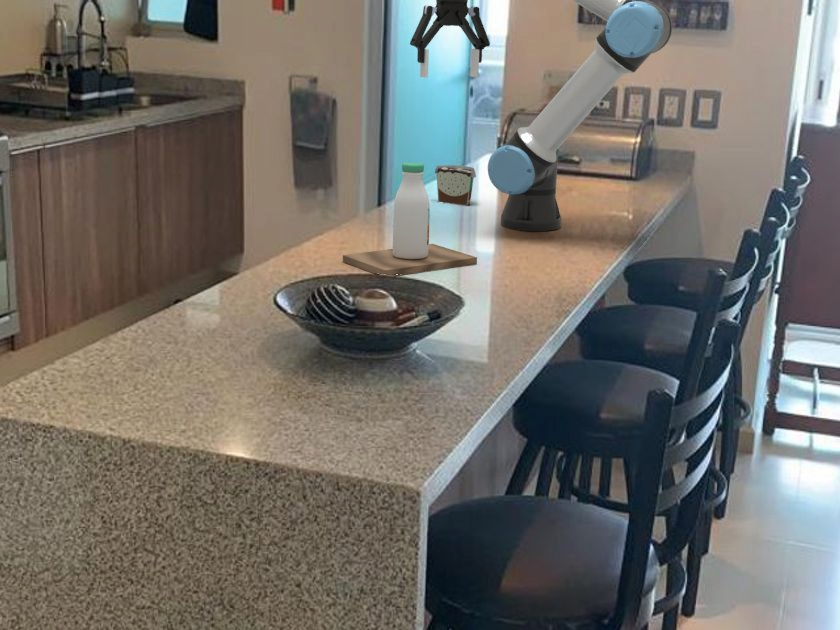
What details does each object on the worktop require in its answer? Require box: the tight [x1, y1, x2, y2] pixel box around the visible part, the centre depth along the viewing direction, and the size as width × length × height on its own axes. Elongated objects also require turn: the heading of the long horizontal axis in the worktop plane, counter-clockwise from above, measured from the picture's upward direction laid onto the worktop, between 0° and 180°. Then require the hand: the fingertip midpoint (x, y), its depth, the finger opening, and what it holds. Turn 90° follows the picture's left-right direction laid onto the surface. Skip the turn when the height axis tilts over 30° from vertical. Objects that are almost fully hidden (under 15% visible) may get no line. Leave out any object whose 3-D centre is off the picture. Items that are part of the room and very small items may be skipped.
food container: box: [434, 164, 477, 207], centre depth 321 cm, size 12×6×10 cm, turn 58°
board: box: [342, 243, 478, 276], centre depth 250 cm, size 24×16×2 cm, turn 126°
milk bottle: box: [392, 161, 431, 259], centre depth 247 cm, size 8×8×20 cm
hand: (449, 77), depth 278 cm, fingers open, 13 cm apart
